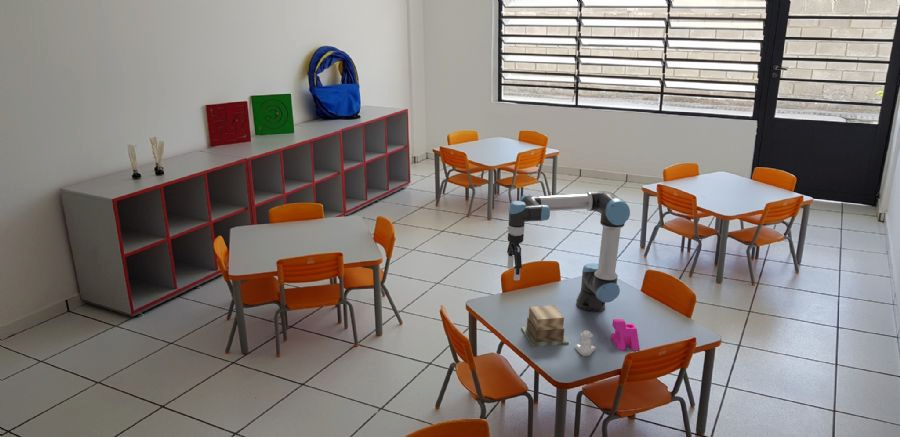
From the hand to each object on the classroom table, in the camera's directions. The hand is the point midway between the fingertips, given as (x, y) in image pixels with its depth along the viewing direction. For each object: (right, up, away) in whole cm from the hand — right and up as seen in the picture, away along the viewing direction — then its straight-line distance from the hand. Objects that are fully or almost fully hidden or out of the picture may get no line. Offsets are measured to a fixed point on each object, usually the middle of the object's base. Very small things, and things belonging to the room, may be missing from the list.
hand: (513, 274), depth 347 cm
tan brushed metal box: (+15, -30, -1) cm, 34 cm away
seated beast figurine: (+32, -36, -14) cm, 50 cm away
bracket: (+53, -33, -5) cm, 63 cm away
